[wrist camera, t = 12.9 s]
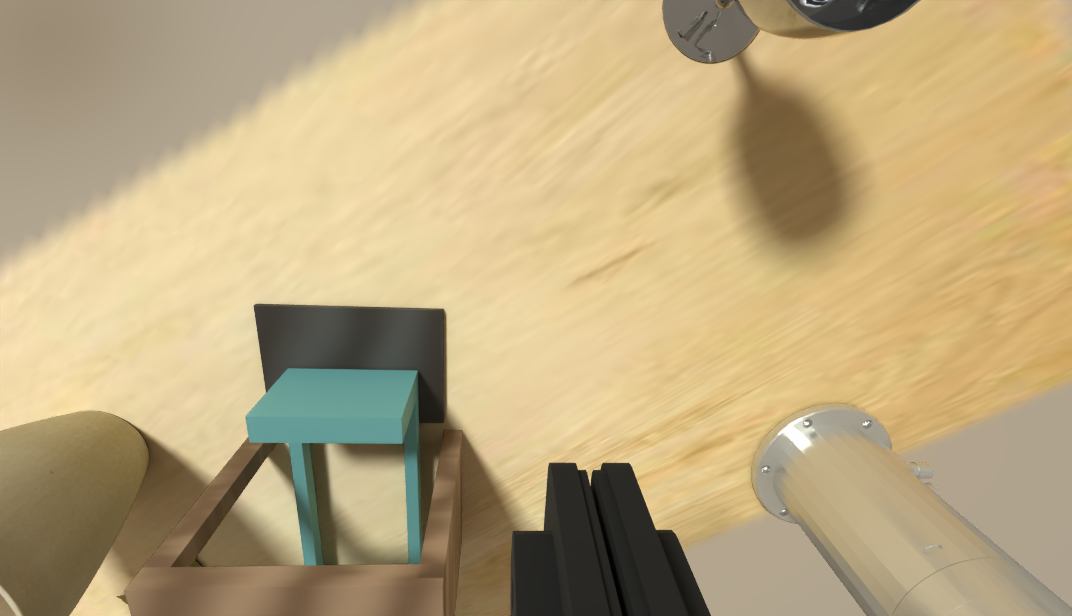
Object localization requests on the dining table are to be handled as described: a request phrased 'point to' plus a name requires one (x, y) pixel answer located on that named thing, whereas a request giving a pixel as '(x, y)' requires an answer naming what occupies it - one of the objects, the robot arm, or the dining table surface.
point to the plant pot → (63, 506)
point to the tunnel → (285, 342)
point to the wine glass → (768, 22)
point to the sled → (341, 432)
